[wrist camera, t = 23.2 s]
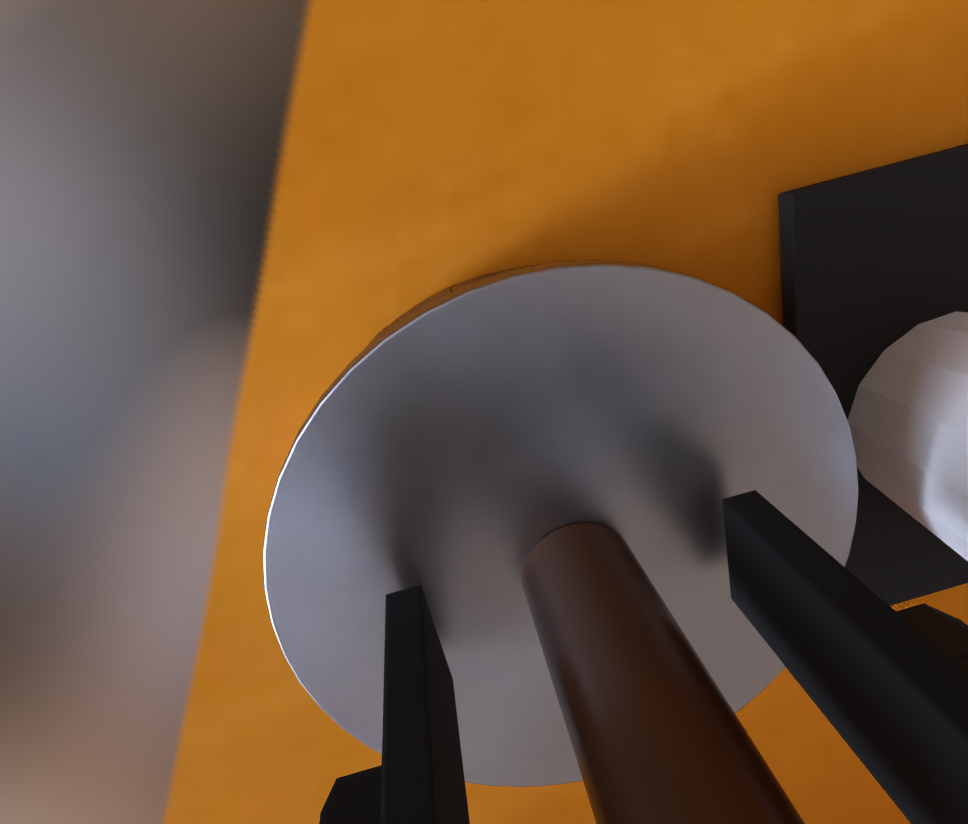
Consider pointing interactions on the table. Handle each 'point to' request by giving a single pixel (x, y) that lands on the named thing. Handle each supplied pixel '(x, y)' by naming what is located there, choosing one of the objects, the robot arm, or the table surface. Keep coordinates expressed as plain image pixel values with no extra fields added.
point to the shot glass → (919, 426)
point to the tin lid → (563, 528)
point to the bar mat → (879, 320)
